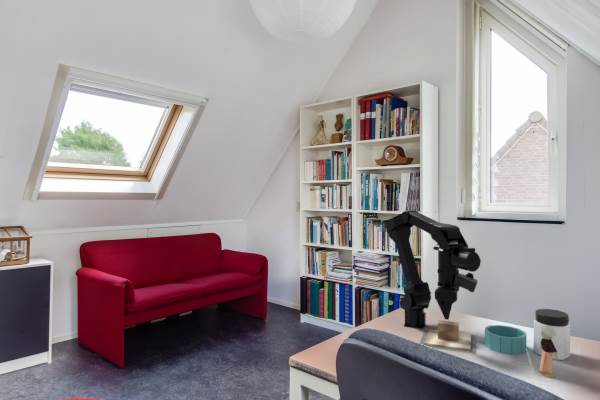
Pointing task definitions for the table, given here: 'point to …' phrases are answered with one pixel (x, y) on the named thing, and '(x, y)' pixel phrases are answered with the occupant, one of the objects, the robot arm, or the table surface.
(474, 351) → the mat
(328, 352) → the table surface
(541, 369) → the grandmother figurine
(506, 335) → the bowl
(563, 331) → the jar
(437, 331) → the cover board
